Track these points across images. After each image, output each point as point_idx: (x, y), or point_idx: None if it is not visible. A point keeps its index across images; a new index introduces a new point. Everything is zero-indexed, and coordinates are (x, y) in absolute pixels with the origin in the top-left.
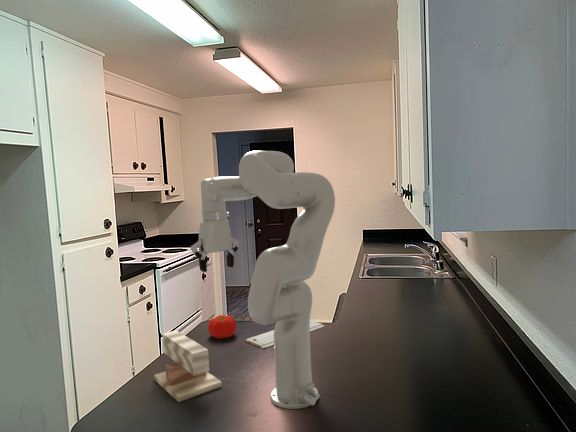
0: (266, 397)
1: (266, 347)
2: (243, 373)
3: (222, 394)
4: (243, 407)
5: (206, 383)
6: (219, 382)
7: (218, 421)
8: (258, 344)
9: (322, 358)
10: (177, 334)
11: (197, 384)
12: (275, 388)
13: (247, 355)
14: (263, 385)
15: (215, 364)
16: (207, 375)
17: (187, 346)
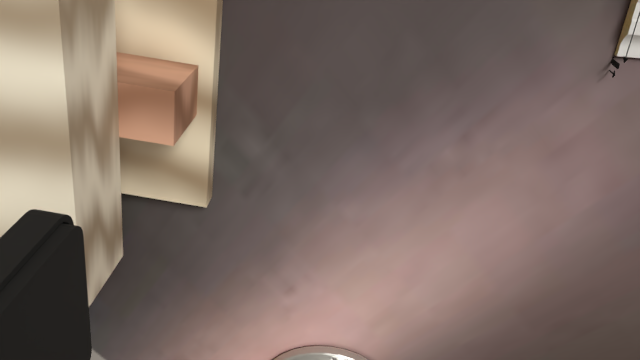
0: (271, 342)
1: (634, 56)
2: (337, 180)
3: (183, 237)
4: (188, 331)
5: (156, 177)
6: (198, 205)
7: (99, 328)
8: (634, 8)
9: (633, 320)
10: (30, 4)
11: (126, 157)
12: (307, 357)
13: (494, 51)
14: (319, 293)
15: (317, 7)
16: (193, 126)
17: (17, 217)
